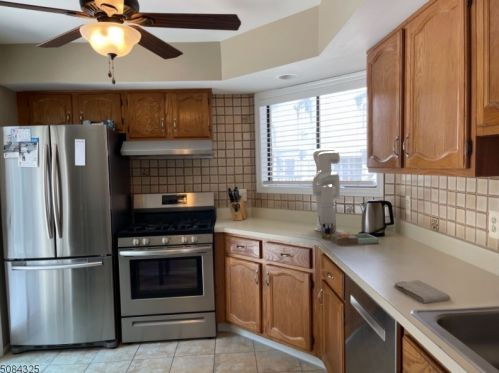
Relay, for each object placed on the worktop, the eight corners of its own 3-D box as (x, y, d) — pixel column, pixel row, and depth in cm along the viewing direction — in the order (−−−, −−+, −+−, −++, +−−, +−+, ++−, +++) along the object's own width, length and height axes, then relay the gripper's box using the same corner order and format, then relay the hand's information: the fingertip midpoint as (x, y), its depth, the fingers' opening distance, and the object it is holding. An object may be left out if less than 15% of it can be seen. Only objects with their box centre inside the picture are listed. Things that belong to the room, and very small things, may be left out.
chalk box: (335, 238, 228) (335, 216, 227) (321, 237, 231) (321, 215, 230) (336, 235, 236) (336, 214, 235) (323, 235, 239) (322, 213, 238)
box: (347, 239, 225) (347, 234, 225) (366, 237, 227) (366, 233, 226) (358, 244, 210) (358, 239, 210) (378, 243, 212) (378, 238, 212)
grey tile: (335, 234, 221) (335, 230, 221) (342, 234, 222) (342, 230, 222) (338, 235, 217) (338, 231, 217) (345, 235, 217) (345, 231, 217)
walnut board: (330, 240, 223) (330, 233, 223) (347, 239, 225) (347, 232, 225) (339, 245, 208) (339, 238, 208) (358, 244, 210) (358, 237, 210)
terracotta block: (339, 236, 215) (339, 232, 215) (346, 236, 216) (346, 232, 215) (342, 237, 210) (342, 233, 210) (349, 237, 211) (349, 233, 211)
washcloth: (417, 284, 142) (417, 277, 141) (452, 301, 124) (452, 293, 124) (391, 288, 139) (391, 280, 139) (424, 305, 121) (424, 297, 121)
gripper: (336, 204, 222) (336, 232, 223) (313, 205, 220) (314, 233, 221) (341, 205, 214) (341, 234, 215) (317, 206, 212) (318, 236, 213)
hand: (327, 234), depth 218 cm, fingers closed
